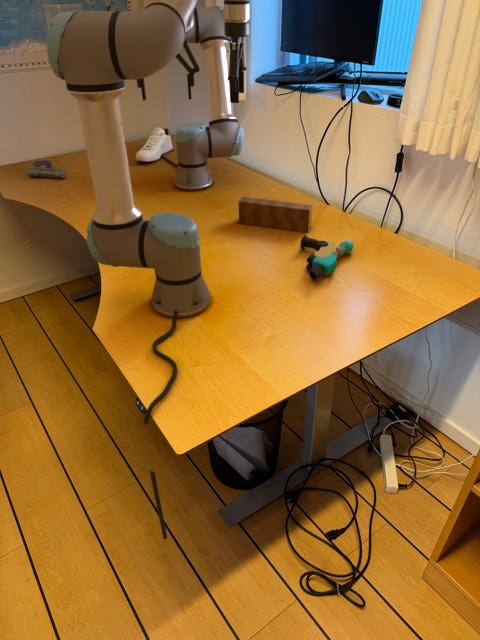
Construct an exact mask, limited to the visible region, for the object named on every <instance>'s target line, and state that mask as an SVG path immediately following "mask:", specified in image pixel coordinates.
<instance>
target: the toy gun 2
mask: <svg viewBox="0 0 480 640" xmlns="http://www.w3.org/2000/svg"><path fill="white" fill-rule="evenodd" d="M354 246H355V244H354V242H353V241H352V240H343V241H342V242H340V244H339V245H337V243H335V242H332V241H325V240H319V239H316V238H312V237H308V235H306V234H304V235H303V236H301V238H300V244H299V248H300V249H301V250H305V249H306V248H307V249H312V250H314V252H313V253H311V254H309V256H308V257H307V258H306V262H307V264H306V266H305V269H306V270H307V272H308V276H309V278H310V279H311V280H312V281H313V282H316V281H317V280H318V279H319V278H321V277H322V274H323V275H325V276H329V275H330V274H333V272H335V270H336V268H337V266H338V264H337V259H338V258H340V257H341V256H342V257H343V255H347V254H350V253H351V252H352V251H353V249H354Z"/></svg>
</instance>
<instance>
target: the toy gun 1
mask: <svg viewBox="0 0 480 640" xmlns="http://www.w3.org/2000/svg"><path fill="white" fill-rule="evenodd" d="M52 167H53V162H52V160H51V159H38V160H36V161H34V162H33V163H32V166H29V167H28V169H27V170H26V174H27V175H28V176H30V177H37V178H52V179H53V178H54V179H55V178H56V179H65V175H66V174H67V171H66V170H63V169H62V168H61V169H60V168H52Z"/></svg>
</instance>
